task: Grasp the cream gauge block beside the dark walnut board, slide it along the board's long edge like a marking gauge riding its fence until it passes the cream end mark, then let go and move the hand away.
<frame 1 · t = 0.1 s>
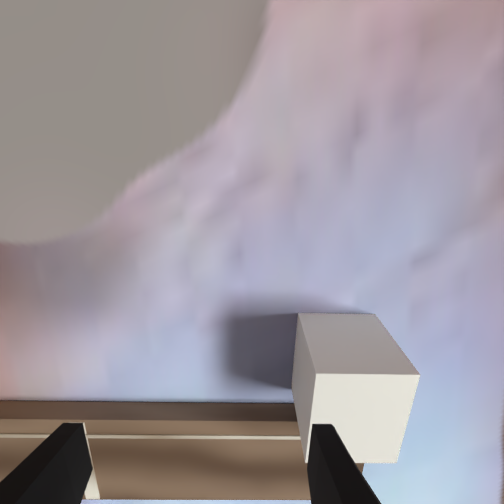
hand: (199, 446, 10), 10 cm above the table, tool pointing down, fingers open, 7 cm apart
walnut board: (161, 442, 23), on the table
gauge block: (330, 351, 21), on the table
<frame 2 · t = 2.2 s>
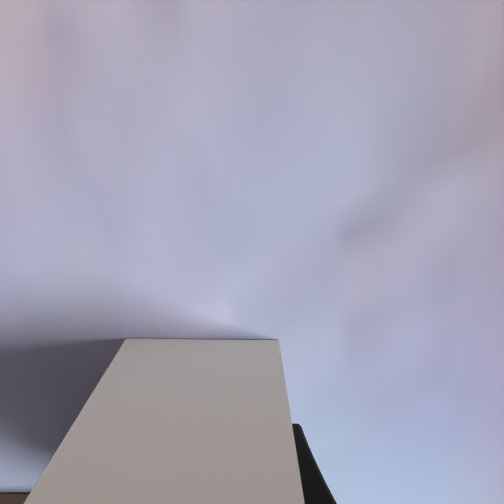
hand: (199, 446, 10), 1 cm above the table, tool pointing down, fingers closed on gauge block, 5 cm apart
gauge block: (205, 409, 11), on the table, touching gripper
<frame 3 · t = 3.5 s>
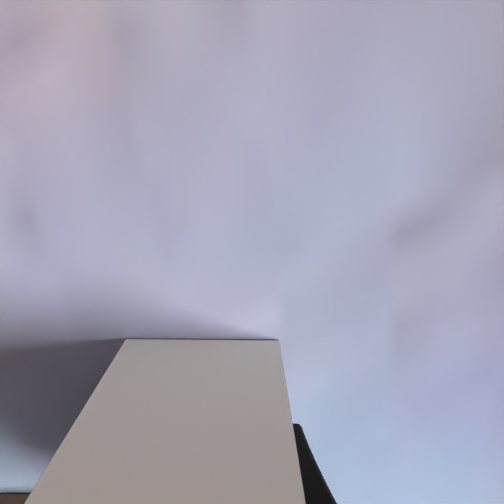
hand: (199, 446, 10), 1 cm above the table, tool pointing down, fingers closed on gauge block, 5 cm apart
gauge block: (205, 409, 11), on the table, touching gripper
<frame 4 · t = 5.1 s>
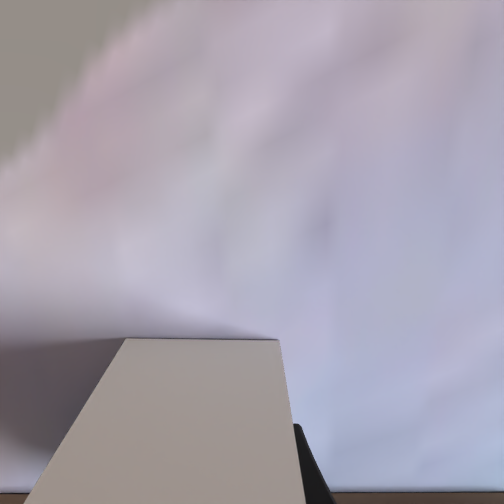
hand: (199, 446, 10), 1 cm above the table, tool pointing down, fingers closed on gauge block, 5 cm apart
gauge block: (205, 409, 11), on the table, touching gripper
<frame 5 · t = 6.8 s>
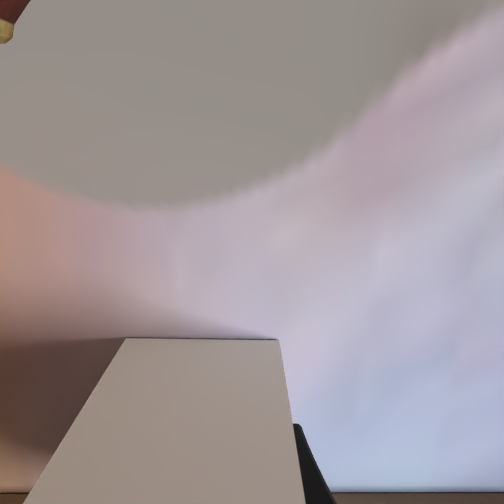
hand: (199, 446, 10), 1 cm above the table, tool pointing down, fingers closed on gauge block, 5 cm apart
gauge block: (205, 409, 11), on the table, touching gripper
when the fingers open (1 cm above the table, at t = 8.3 s): gauge block stays where it is, on the table.
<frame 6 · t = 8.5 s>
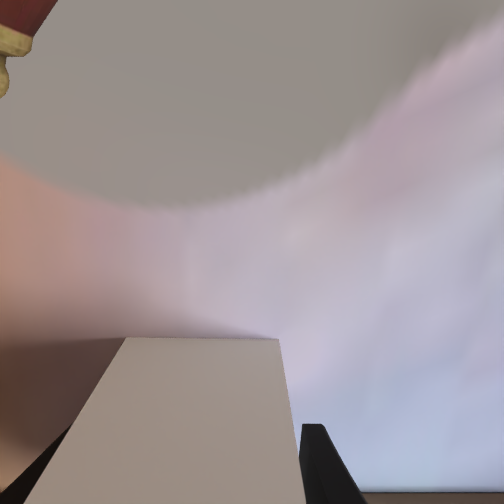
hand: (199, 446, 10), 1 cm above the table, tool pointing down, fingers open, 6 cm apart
gauge block: (205, 406, 11), on the table
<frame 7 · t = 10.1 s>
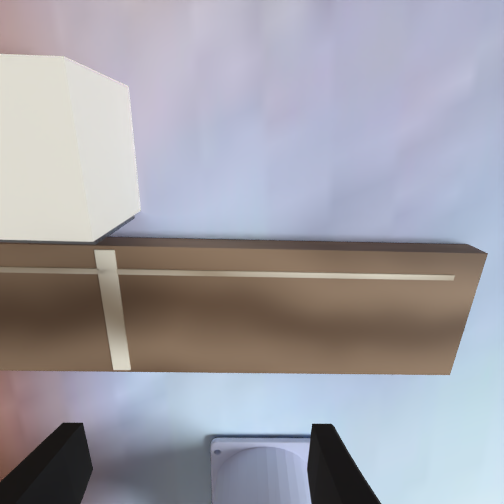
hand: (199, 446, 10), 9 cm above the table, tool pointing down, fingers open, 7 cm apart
walnut board: (207, 301, 18), on the table
gauge block: (86, 151, 15), on the table
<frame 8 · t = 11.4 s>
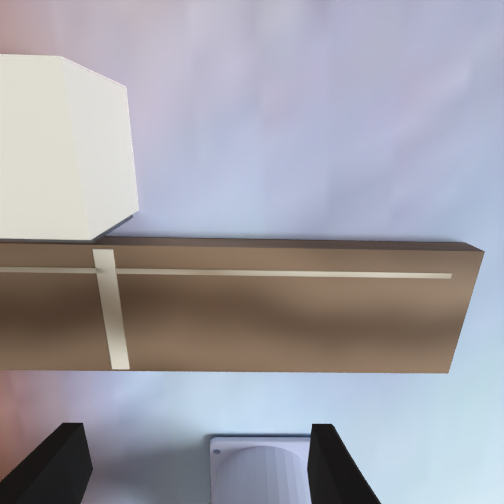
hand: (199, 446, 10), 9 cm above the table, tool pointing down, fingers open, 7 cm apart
walnut board: (206, 301, 18), on the table
gauge block: (84, 151, 16), on the table
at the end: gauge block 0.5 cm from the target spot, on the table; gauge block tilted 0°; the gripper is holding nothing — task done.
